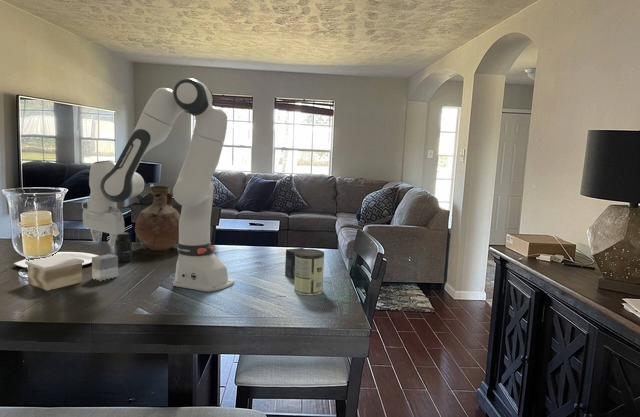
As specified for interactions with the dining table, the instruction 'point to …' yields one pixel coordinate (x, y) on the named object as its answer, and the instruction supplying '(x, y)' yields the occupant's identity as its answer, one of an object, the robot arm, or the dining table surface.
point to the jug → (158, 221)
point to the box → (290, 262)
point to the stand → (54, 271)
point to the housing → (104, 267)
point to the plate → (79, 255)
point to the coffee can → (309, 272)
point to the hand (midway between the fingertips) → (103, 243)
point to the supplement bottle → (123, 248)
